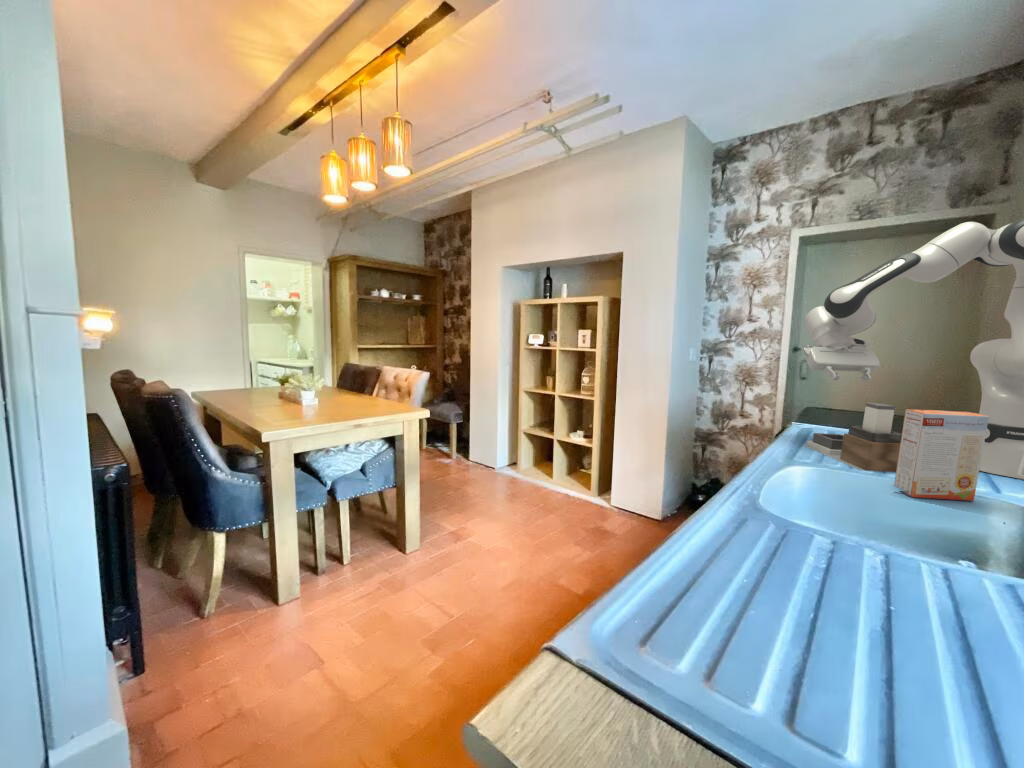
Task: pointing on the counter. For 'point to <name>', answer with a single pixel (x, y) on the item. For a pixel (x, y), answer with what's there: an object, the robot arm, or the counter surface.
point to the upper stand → (871, 449)
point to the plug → (878, 418)
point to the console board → (837, 458)
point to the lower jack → (827, 443)
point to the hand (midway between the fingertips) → (851, 379)
